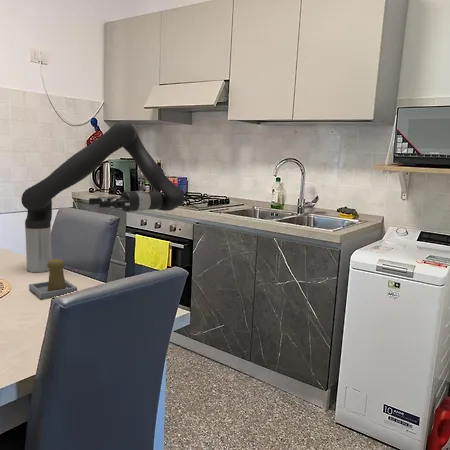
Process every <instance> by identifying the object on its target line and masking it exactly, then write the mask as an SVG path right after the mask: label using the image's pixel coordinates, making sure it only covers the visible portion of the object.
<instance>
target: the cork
mask: <svg viewBox="0 0 450 450" xmlns="http://www.w3.org/2000/svg"><path fill="white" fill-rule="evenodd" d="M64 261H65V260H63V259H61V258H52V260H50V261H49V262H48V268H49V269H50V270H49V274H48V281H49V282H48V281H47V282H48V291H54V290H60V289H66V284H65V280H66V279H65V274H64V268H65V262H64ZM48 291H47V292H48Z"/></svg>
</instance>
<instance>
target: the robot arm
mask: <svg viewBox="0 0 450 450" xmlns="http://www.w3.org/2000/svg"><path fill="white" fill-rule="evenodd" d="M121 148H123V149H124V150H125V151H126V152H127V153H128V154H129V155H130V156H131V157H132V159H133V161H135V163H136V165H137V166H138V169H139V170H140V172H141V173H142V175H143V177H144V178H145V180H146V181H147V182H148V183H149V185H151V187H152V189H153V190H154V191H153V190H152V191H142V190H133V191H129V190H126V191H122V193H121V194H120V196H119V195H114V196H112V195H111V196H98V197H93V198H91V197H90V198H88V204H89V205H90V206H91V205H98V207H99V208H102V209H103V208H104V209H105V208H111V209H116V210H117V209H121V210H122V211H123V212H125V213H129V212H143V211H148V210H149V211H153V210H158V211H164V212H166V211H168V212H169V211H173V210H175V209H177V208H178V207H180V206H181V205H183V203H184V202H185V195H184V193H183V191H182V190H181V188H180V187H179V186H177V185H176V183H174V182H173V181H171V180H170V179H169V178H168V176H167V175H166V174H165V172H164V171H163V170H162V168H161V167H160V166H159V164H158V163H157V161H155V159H154V158H153V157H152V156H151V154H150V153H149V152H148V150H147V149H146V147H145V146H144V144H143V143H142V141H141V139H140V137H139V135H138V132H137V130H136V128H135V126H134V125H133V124H131V123H130V122H128V121H125V120H120V121H117V122H116V123H114V124H113V125H112V126H111V127H109V129H108V130H106V131H105V132H104V133H103V134H102V135H101V136H100V137H98V138H97V139H96V140H94V141H93V142H92V143H90V144H88V145H86V146H85V147H84V148H82V149H80V150H79V151H77V152H76V153H75V154H73V155H72V156H70V157H69V158H68V159H66V160H65V161H64V162H63V163H61V165H59V166H58V167H57V168H55V170H54V171H52V173H50V174H49V175H48V176H46V177H45V178H44V179H42V180H41V181H39V182H37V183H35V184H33V185H32V186H30V187H28V188H27V189H26V190H24V191H23V193H22V195H21V204H22V206H23V207H24V208H25V209H26V210H27V212H26V213H27V215H26V217H25V221H24V227H25V228H24V229H25V252H26V254H25V255H26V257H25V258H26V271H27V272H29V273H42V272H43V273H44V272H48V271H49V272H50V269H49V268H48V262H49V261H50V260H52V259H53V258H52V257H53V256H52V229H51V228H52V225H51V224H52V223H51V222H52V216H53V199H54V198H55V197H56V196H57V195H59V194H60V193H61V192H63V191H64V190H66V189H70V187H72V186H75V185H76V184H77V183H80V182H81V181H82V180H84V179H85V178H87V177H88V176H89V175H91V174H92V173H93V172H94V171H95V170H96V169H98V168H99V167H100V165H102V164H103V163H104V161H105V160H107V158H108V157H110V156H111V155H112V154H113V153H115V152H117V151H118V150H121ZM159 191H161V192H162V193H163V194H161V193H160V192H159Z"/></svg>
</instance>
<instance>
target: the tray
mask: <svg viewBox="0 0 450 450" xmlns="http://www.w3.org/2000/svg"><path fill="white" fill-rule="evenodd" d="M48 282H49V280H48V281H43V282H36V283H30V284H28V289H29V291H30V292H31V293H32V294H33V295H35V296H36V297H37V298H38V299H39V300H47V299H48V300H49V299H53V298H52V297H54V296H59V297H61V296H60V295H64V294H67V293H71V292H74V291H77V292H78V287H77V286H76V285H74V284H73V283H71V282H70V281H68V280H66V279H65V284H66V289H60V290H54V291H48ZM47 291H48V292H47ZM54 298H55V297H54Z"/></svg>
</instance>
